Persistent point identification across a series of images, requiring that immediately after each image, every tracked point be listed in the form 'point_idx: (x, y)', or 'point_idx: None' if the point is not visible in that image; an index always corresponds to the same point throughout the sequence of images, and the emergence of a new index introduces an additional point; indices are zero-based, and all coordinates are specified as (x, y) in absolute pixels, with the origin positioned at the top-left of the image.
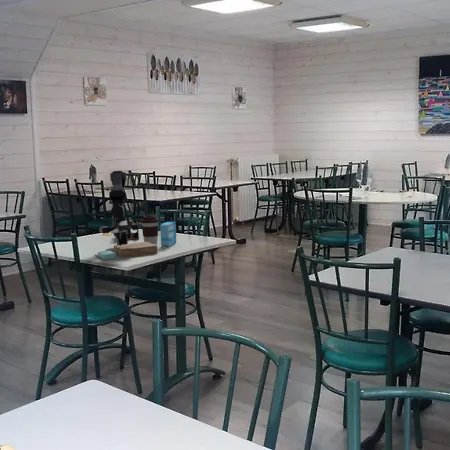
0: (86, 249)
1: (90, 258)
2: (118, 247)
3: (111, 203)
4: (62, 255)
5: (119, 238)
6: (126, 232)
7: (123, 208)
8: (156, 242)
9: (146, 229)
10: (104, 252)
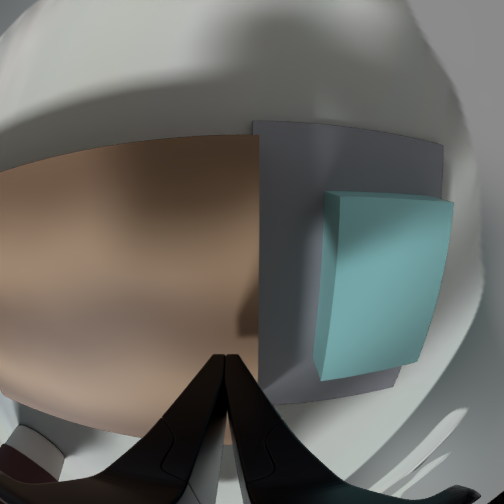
0: None
1: (456, 304)
2: (251, 351)
3: None
4: (456, 417)
5: (247, 434)
6: (12, 485)
7: None
8: (17, 427)
9: None
10: (399, 319)
